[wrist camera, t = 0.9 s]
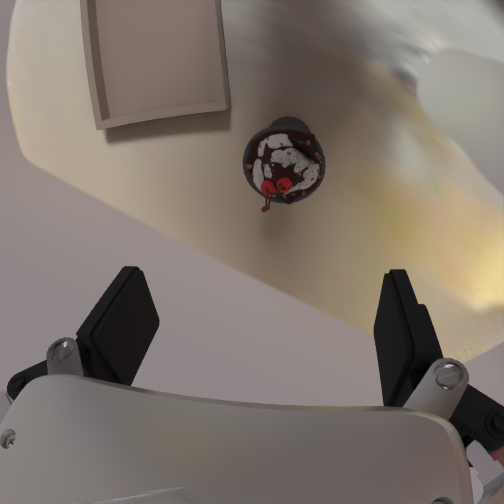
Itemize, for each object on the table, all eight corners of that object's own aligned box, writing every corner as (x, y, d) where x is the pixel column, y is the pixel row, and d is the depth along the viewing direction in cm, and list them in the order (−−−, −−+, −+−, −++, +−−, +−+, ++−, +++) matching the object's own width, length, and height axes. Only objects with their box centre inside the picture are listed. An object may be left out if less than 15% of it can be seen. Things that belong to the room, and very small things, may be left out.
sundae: (261, 168, 36) (236, 232, 24) (256, 110, 32) (225, 141, 20) (319, 168, 35) (328, 232, 22) (318, 109, 31) (329, 138, 19)
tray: (90, -15, 25) (79, -18, 23) (215, -53, 22) (209, -60, 20) (107, 125, 35) (96, 130, 33) (231, 107, 33) (226, 110, 30)
